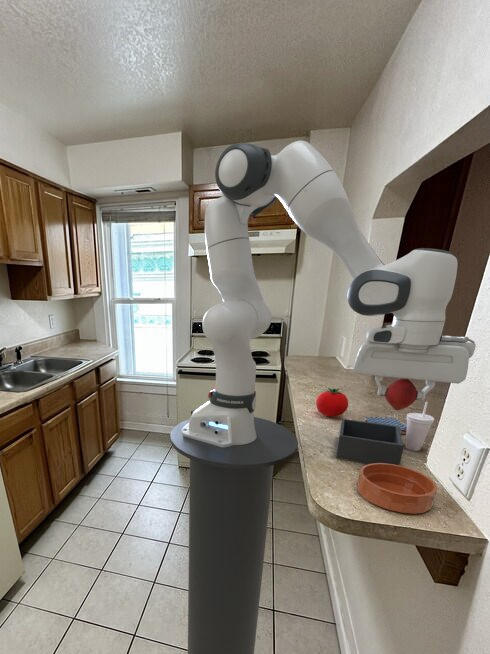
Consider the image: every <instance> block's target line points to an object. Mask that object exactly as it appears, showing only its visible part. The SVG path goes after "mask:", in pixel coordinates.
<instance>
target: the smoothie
mask: <svg viewBox="0 0 490 654" xmlns="http://www.w3.org/2000/svg"><path fill="white" fill-rule="evenodd" d="M428 404H429V402H428V401H425V403H424V406H423V410H422V413H420V412H409V413H407V414H406V417H405V418H406V426H407V429H406V434H405V443H404V448H405V449H407V450H410V451H413V452H414V451H417V452H418V451H419V452H420V451H421V449H422V447H423V445H424V442H425V440H426V437H427V436H428V433H429V431H430V429H431V426H432V424H434V422H435V418H434V416H432V415H430V414H426V411H427V407H428Z"/></svg>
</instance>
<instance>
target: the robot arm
mask: <svg viewBox="0 0 490 654" xmlns="http://www.w3.org/2000/svg"><path fill="white" fill-rule="evenodd" d="M215 166H216V167H215V170H214V177H215V182H216V186H217V188H218V190H219V191H220V192H221V194H222V195H221V197H218V198H216V199H214V200H213V201H211V202H210V203H209V205H207V207H206V209H205V212H204V239H205V247H206V255H207V261H208V267H209V268H208V269H209V274H210V280H211V282H212V284H213V285H214V287H215V288H216V289H217V290H218V292H219V294H220V297H221V298H222V301H221V302H219V303H217V304H215V305H213V306H211V307H210V308H209V309H207V310H206V312H205V314H204V315H203V318H202V323H201V324H202V325H201V326H202V331H203V334H204V336H205V338H206V339H207V340H208V341H209V342H210V344H211V347H212V351H213V355H214V361H215V386H213V387H212V388H211V390H210V391H209V393H207V398H208V399H209V400H208V401H206V402H205V403H203V404H202V405H200V406H199V407H198V408H196V409H194V410H191V411H190V417H189V419H190V422H189V423H188V424H186V425H185V426H184V427H183V429H182V436H185V437H188V438H192V439H195V440H199V441H202V442H206V443H209V444H212V445H216V446H219V447H229V446H233V445H243V444H248V443H251V442H253V441H255V440H256V438H257V436H256V431H255V426H254V417H255V409H256V404H257V403H256V402H257V396H256V395H257V393H256V390H255V389H256V379H257V378H256V376H257V363H256V361H255V360H254V358H253V356H252V355H253V354H252V350H251V340H254V339H256V338H259V337H260V336H261V335H263V334H264V333H265V332H267V330H268V329H269V327H270V325H271V323H272V312H271V309H270V307H269V306H268V305H267V304H266V301H264V297H263V295H262V291H261V288H260V286H259V283H258V280H257V278H256V273H255V269H254V262H253V256H252V249H251V241H250V235H249V224H248V223H249V222H248V221H249V218H250V217H251V218H254V217H256V216H258V215H259V214H260V213H262V212H263V211H264V210H266V209H268V208H269V207H270V206H272V205H273V204H275V202H277V200H279V201H280V203H281V204H282V205H283V208H284V209H285V210H286V212H287V214H288V215H289V217H290V218H291V220H292V221H293V222H294V223H295V224H296V226H297V227H298V228H299V229H300V230H301V231H302V232H303V233H304V234H306V235H307V236H308V237H310V238H312V239H314V240H316V241H317V242H320V243H322V244H323V245H324V246H326V247H328V248H329V249H330V250H331V251H332V252H333V253H334V254H335V255H336V256H337V257H338V258H339V260H340V262H341V263H342V265H343V266H344V267H345V269H346V270H347V272H348V273H349V275H350V277H351V278H352V279H353V280H352V281H351V283H350V285H349V287H348V289H347V293H346V294H347V296H346V298H347V303H348V305H349V307H350V308H351V309H352V311H354V312H355V313H357V314H359V315H361V316H363V317H377V316H383V315H387V314H393V318H392V323H391V324H386V325H383V326H379V327H373V328H370V329H368V330H367V332H366V335H365V340H364V341H363V343H361V344H360V346H359V349H358V351H357V354H356V357H355V360H354V364H353V368H352V369H353V371H354V373H355V374H356V375H363V376H373V377H374V381H375V383H376V386H377V393H376V395H377V396H378V397H385V392H386V390H387V387H386V386H383V385H382V383H381V382H383V380H384V378H395V379H401V378H404V379H409V380H417V381H424V382H425V387H423V389H421V390H417V397H416V400H415V401H422V402H424V401H425V399H426V396H427V394H428V393H429V392H430V391H432V390H433V389H434V388H435V386H436V383H447V384H448V383H449V384H461V383H462V382H464V381H466V379H467V374H468V369H469V362H470V359H471V358H472V357H473V356H474V353H475V350H476V347H477V346H476V342H475V341H474V340H473V339H471V338H469V337H468V336H463V335H462V336H455V335H454V336H453V335H443V334H442V333H443V330H444V326H445V322H446V310H447V306H448V304H449V303H450V301H451V299H452V296H453V293H454V289H455V284H456V279H457V273H458V259H457V257H456V255H455V254H453V253H452V252H450V251H448V250H444V249H438V248H428V247H426V248H425V247H419V248H415V249H413V250H411V251H410V252H409V253H407V254H405V255H404V256H402V257H400V258H398V259H396V260H393V261H391V262H389V263H386V264H385V263H384V262H383V261H382V259H380V258H379V256H378V255H377V253H376V252H375V250H374V249H373V247H372V246H371V244H370V243H369V241H368V240H367V238H366V237H365V236H364V234H363V232H362V231H361V229H360V227H359V224H358V222H357V219H356V217H355V214H354V212H353V209H352V208H353V207H352V206H351V203H350V200H349V198H348V195H347V192H346V190H345V188H344V186H343V184H342V182H341V180H340V178H339V176H338V175H337V174H336V172H335V170H334V168H332V166H331V164H330V163H329V162H328V161H327V159H325V157H324V156H323V155H322V154H321V153H320V151H318V150H317V148H315V147H314V146H313V145H312V144H311V143H309V142H308V141H306V140H296V141H293V142H291V143H289V144H288V145H286V146H284V148H283V149H281V151H279V152H278V153H277V154H271V151H270V150H269V148H266V147H263V146H259V145H255V144H253V143H249V142H236V143H233V144H231V145H229V146H228V147H226V148H225V149H224V150H223V151H222V153H221V155H220V156H219V158H218V160H217V163H216V165H215Z"/></svg>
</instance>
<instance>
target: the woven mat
mask: <svg viewBox="0 0 490 654" xmlns="http://www.w3.org/2000/svg"><path fill="white" fill-rule="evenodd" d="M363 421H364V422H371V423H378V424H386V425H393V426H399V429H400V432H401V435H406V429H407V424H404V423H403V422H401V421H400V420H399V419H397V418H393V417H390V418H388V417H386V416H385V418H384V417H382V416H380V417H377V416H376V417H373V416H370V417H367V416H365V419H364V420H363Z"/></svg>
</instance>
